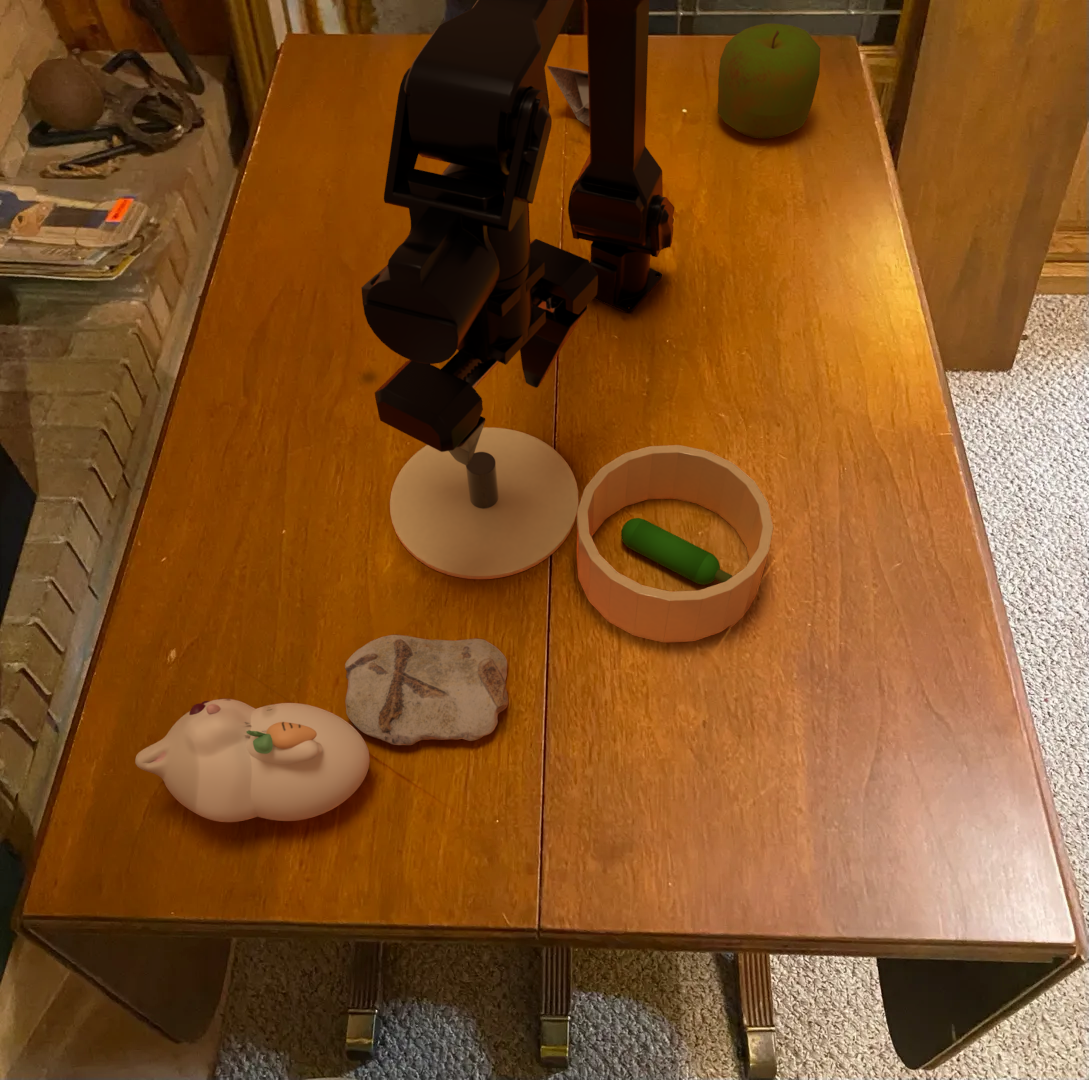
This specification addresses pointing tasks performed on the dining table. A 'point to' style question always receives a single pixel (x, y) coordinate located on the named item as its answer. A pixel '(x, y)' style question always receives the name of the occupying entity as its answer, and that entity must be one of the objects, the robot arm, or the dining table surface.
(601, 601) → the pot
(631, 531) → the green zucchini
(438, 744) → the dining table surface
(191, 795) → the bunny figurine
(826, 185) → the dining table surface
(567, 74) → the paper boat
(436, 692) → the stone
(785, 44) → the apple
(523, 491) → the pot lid
